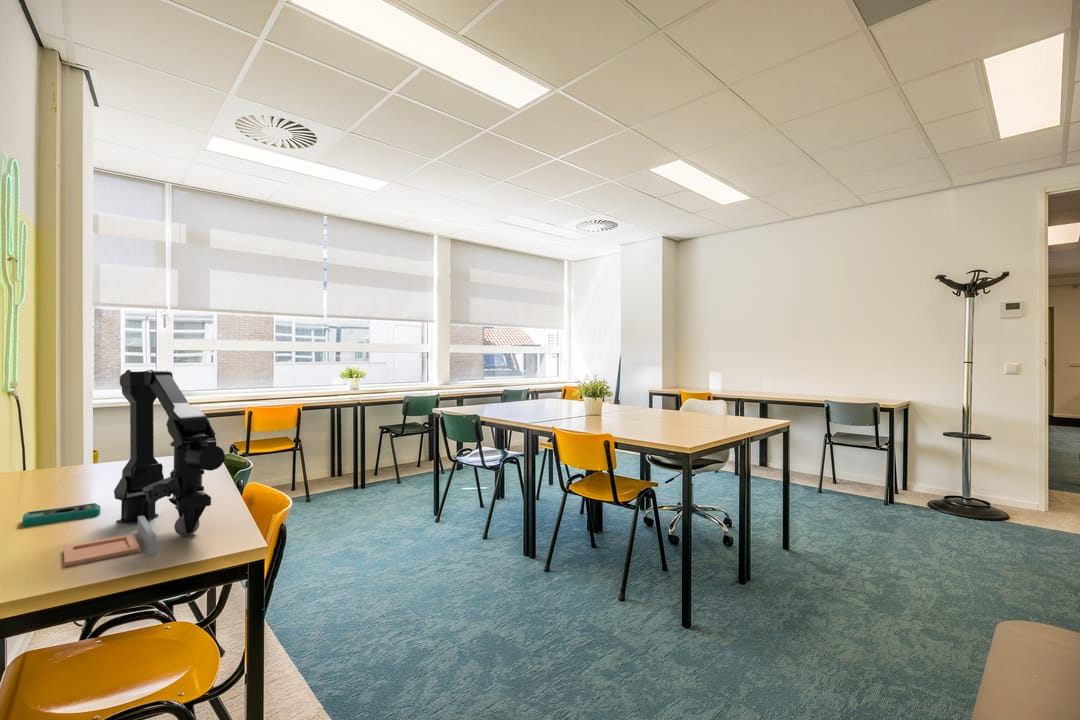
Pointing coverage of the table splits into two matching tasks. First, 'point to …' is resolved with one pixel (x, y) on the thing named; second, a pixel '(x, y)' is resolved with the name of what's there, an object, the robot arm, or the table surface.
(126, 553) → the pad
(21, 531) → the table surface
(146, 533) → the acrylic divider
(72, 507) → the digital multimeter
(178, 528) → the rubber ball
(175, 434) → the robot arm
